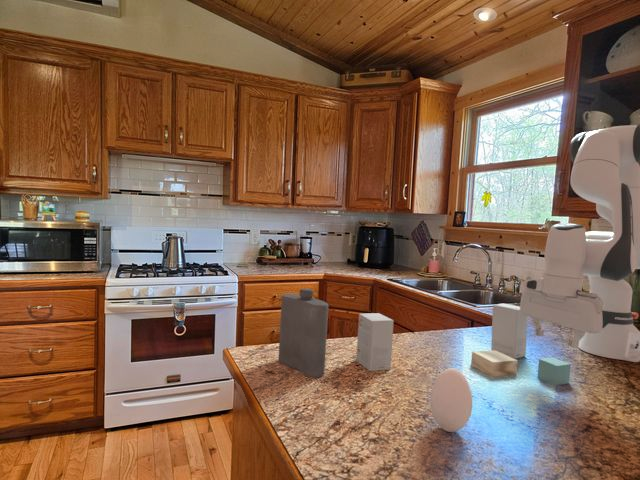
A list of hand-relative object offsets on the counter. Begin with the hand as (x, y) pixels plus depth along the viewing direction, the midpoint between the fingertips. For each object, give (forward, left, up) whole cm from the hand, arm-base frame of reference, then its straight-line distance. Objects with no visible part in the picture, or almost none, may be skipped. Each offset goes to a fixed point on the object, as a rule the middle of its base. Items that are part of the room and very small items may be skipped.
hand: (555, 340), depth 103 cm
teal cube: (-1, 0, -10) cm, 10 cm away
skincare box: (-6, -19, -11) cm, 22 cm away
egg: (+43, +12, -11) cm, 46 cm away
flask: (+59, -24, -11) cm, 65 cm away
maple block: (+9, -10, -11) cm, 17 cm away
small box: (+40, -21, -11) cm, 47 cm away
